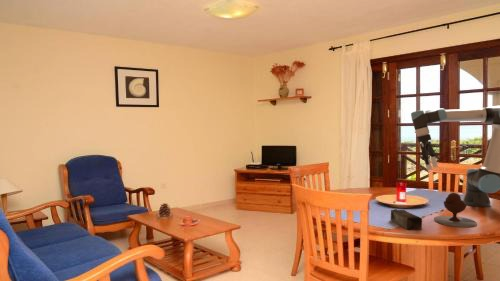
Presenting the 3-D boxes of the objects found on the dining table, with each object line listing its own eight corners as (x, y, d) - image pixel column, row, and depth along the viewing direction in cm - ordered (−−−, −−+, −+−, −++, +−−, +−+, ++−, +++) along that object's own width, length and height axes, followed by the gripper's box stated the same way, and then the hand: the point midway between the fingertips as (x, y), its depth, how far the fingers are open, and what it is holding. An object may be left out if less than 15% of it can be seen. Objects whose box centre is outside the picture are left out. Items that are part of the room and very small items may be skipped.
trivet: (470, 218, 202) (470, 217, 202) (482, 228, 183) (482, 227, 183) (430, 216, 207) (430, 214, 207) (437, 225, 188) (438, 224, 188)
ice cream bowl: (470, 223, 189) (470, 194, 188) (446, 222, 191) (447, 194, 190) (462, 218, 199) (462, 191, 199) (440, 217, 201) (440, 190, 201)
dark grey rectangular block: (404, 220, 200) (404, 208, 200) (422, 230, 181) (423, 217, 181) (390, 220, 200) (390, 208, 200) (407, 230, 181) (407, 217, 180)
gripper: (422, 135, 239) (431, 166, 237) (410, 137, 220) (420, 172, 218) (434, 132, 234) (444, 164, 232) (423, 134, 215) (433, 170, 213)
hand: (432, 168), depth 225 cm, fingers open, 13 cm apart
